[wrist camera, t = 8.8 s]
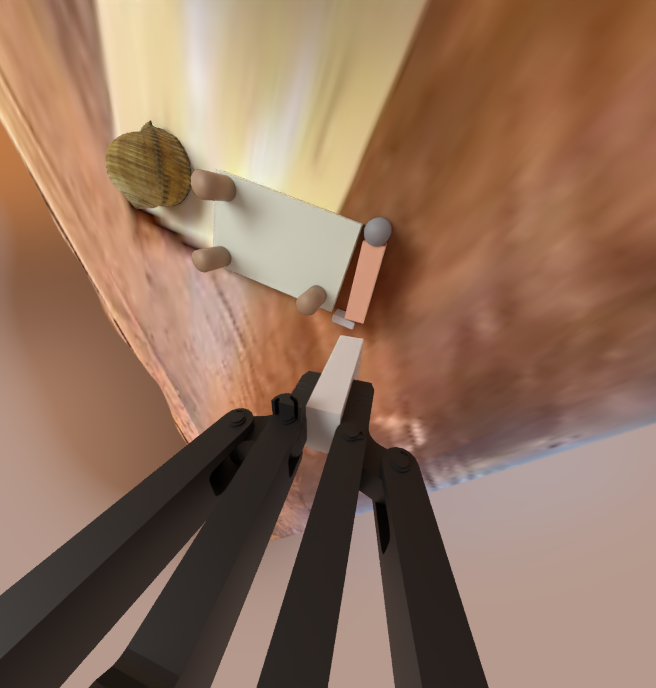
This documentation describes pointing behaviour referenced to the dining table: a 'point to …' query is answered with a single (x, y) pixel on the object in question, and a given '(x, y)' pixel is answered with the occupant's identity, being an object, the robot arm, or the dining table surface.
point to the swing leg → (368, 268)
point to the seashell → (149, 167)
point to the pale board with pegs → (277, 241)
